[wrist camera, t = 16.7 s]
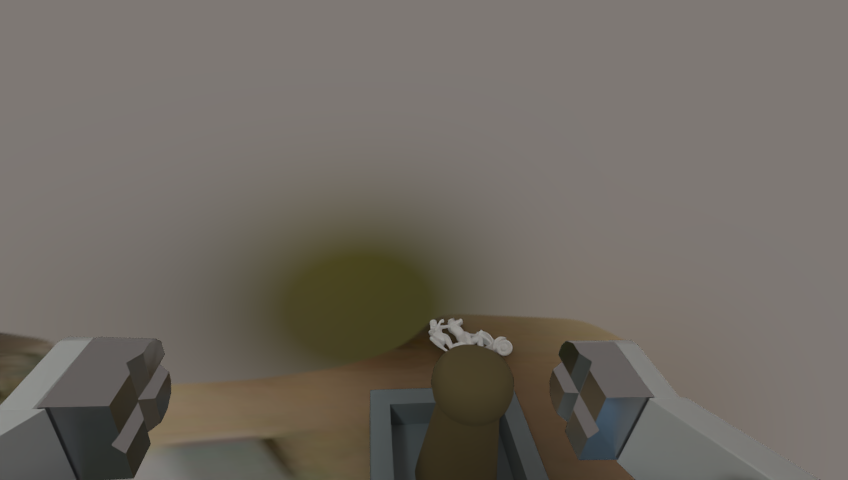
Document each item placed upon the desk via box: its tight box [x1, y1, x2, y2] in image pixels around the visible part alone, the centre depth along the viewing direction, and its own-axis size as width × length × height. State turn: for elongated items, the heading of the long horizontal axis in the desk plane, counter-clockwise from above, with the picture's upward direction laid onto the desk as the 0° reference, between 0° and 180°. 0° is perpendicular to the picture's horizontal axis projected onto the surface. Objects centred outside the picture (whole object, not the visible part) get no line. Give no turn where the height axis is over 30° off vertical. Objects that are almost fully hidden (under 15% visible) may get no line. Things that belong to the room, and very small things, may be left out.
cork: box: [415, 344, 514, 480], centre depth 29 cm, size 6×6×11 cm
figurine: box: [428, 318, 513, 356], centre depth 45 cm, size 3×8×8 cm
